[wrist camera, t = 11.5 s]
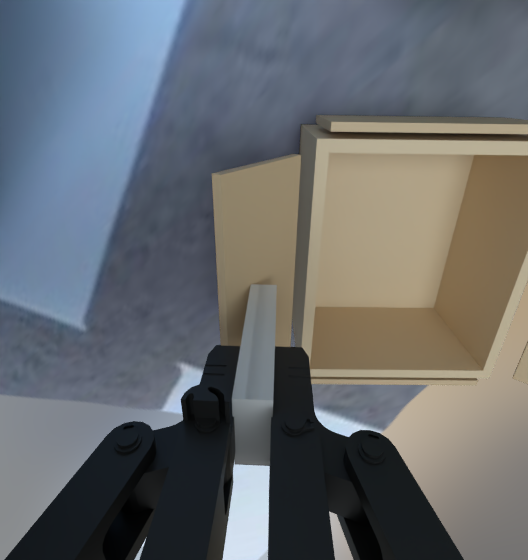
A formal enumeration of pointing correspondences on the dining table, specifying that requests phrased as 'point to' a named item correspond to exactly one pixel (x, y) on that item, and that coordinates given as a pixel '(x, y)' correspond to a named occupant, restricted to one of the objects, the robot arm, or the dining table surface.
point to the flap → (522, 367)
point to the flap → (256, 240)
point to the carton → (409, 246)
